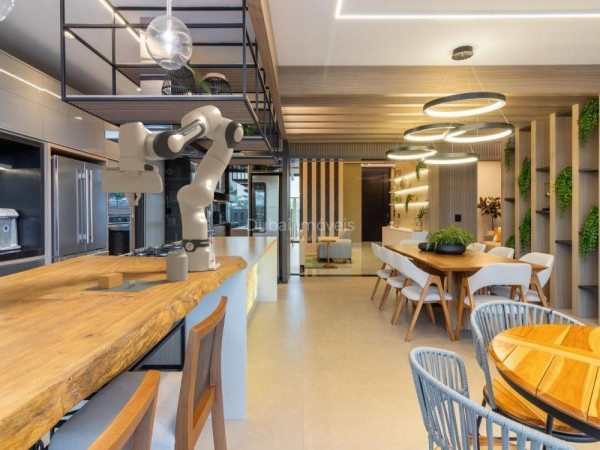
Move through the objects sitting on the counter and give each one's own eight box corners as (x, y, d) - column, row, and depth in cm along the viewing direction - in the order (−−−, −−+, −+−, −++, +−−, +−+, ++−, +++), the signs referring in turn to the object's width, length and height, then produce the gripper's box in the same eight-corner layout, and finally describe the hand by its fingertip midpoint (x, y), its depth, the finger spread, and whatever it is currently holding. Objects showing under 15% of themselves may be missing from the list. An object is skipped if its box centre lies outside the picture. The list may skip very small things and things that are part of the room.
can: (184, 285, 140) (183, 252, 139) (163, 285, 140) (163, 252, 140) (190, 281, 147) (190, 250, 147) (170, 281, 148) (170, 250, 147)
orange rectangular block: (112, 284, 134) (111, 272, 134) (122, 285, 133) (122, 273, 133) (98, 287, 128) (98, 275, 128) (109, 288, 127) (108, 276, 127)
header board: (117, 283, 144) (117, 272, 144) (167, 285, 141) (167, 274, 140) (80, 294, 125) (80, 282, 125) (137, 297, 122) (136, 284, 122)
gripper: (98, 165, 134) (99, 205, 134) (161, 166, 139) (162, 205, 139) (102, 167, 140) (103, 205, 140) (162, 168, 145) (163, 205, 146)
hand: (133, 205), depth 140 cm, fingers closed
